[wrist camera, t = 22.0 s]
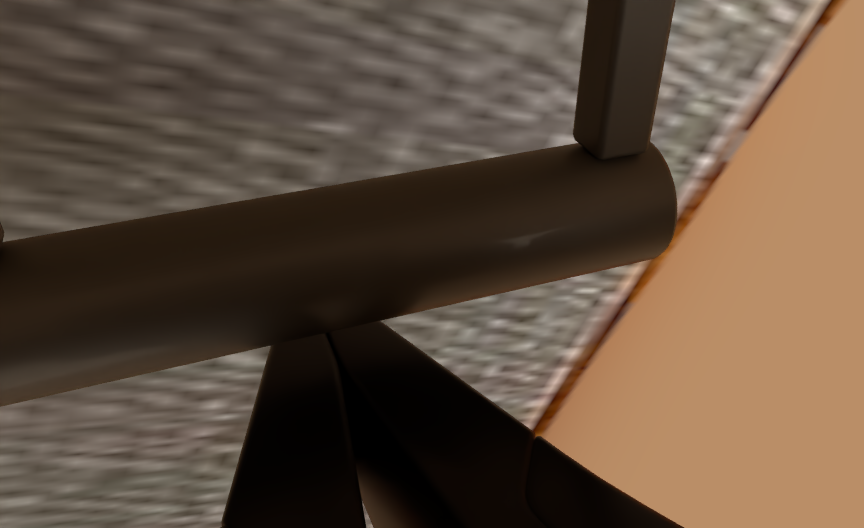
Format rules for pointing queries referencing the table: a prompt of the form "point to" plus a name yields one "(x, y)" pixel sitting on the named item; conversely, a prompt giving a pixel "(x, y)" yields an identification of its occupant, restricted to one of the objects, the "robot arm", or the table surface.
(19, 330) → the drawer
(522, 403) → the table surface
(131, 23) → the table surface
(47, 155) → the table surface
